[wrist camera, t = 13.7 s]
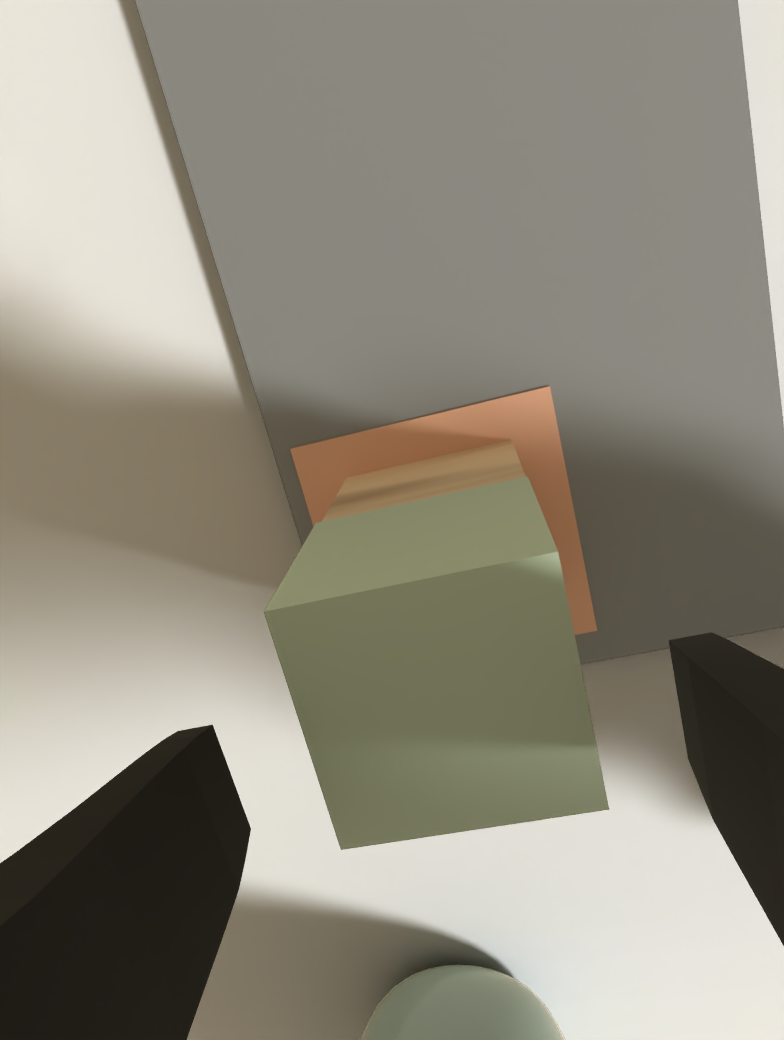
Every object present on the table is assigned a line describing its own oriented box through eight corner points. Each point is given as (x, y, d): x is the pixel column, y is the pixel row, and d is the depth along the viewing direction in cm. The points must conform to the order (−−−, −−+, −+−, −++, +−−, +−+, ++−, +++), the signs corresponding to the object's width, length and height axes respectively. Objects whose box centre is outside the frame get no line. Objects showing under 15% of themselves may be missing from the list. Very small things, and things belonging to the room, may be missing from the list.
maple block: (544, 594, 20) (568, 675, 16) (387, 626, 21) (371, 711, 17) (511, 439, 19) (528, 482, 15) (346, 477, 20) (317, 529, 16)
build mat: (796, 615, 21) (806, 624, 20) (353, 698, 22) (350, 708, 22) (687, -371, 15) (696, -398, 14) (97, -144, 17) (84, -160, 16)
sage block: (567, 671, 16) (609, 809, 12) (369, 706, 17) (341, 849, 12) (527, 476, 15) (558, 551, 11) (316, 522, 15) (263, 611, 11)
